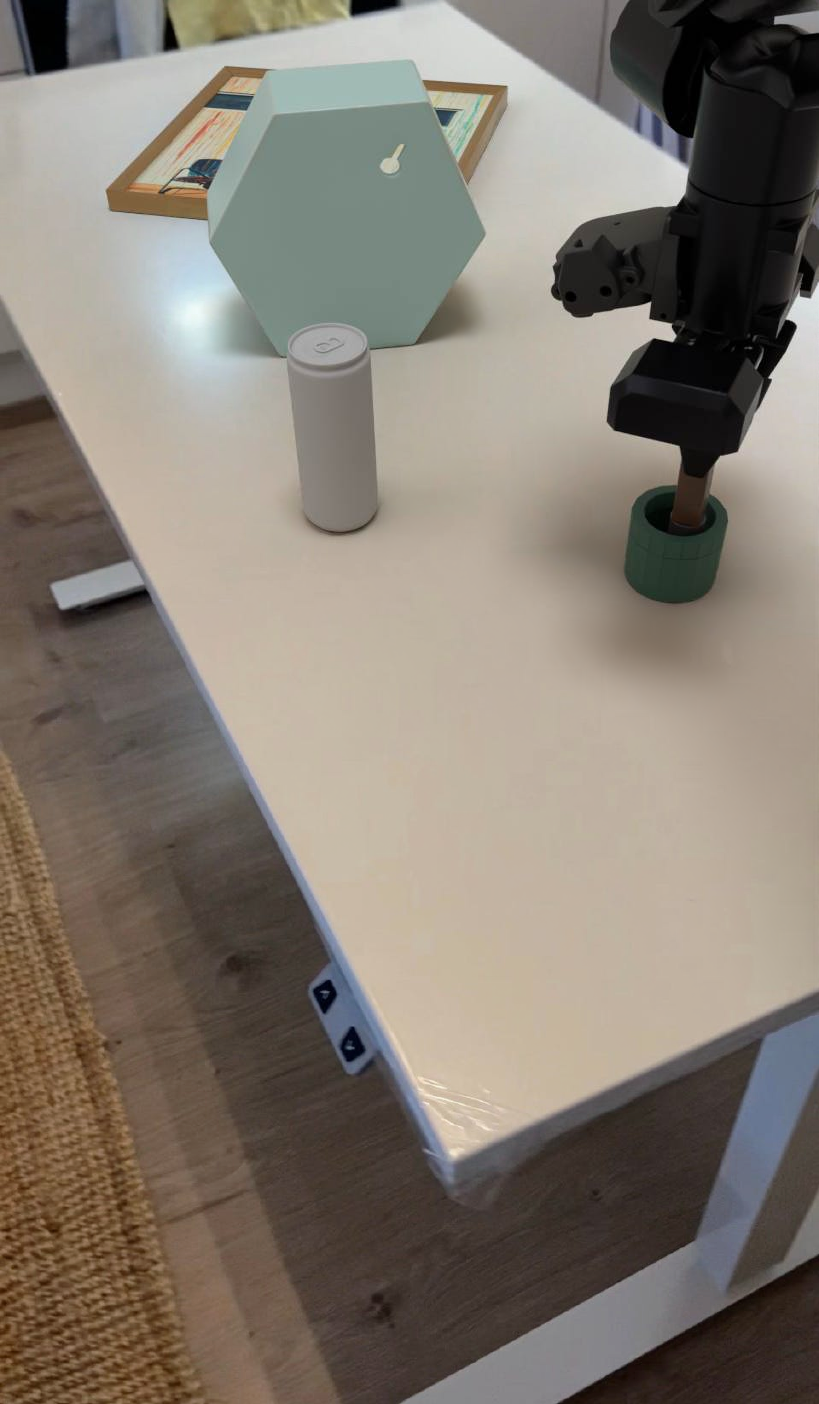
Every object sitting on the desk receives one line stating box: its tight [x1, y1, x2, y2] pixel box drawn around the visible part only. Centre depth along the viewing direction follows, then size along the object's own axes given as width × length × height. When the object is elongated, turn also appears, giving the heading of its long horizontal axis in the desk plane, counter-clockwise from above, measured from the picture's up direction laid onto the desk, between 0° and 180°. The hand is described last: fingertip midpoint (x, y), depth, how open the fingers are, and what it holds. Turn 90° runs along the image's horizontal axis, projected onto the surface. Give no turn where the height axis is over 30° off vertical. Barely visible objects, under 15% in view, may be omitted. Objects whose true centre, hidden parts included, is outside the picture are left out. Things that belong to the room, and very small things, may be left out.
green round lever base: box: [623, 484, 729, 604], centre depth 70 cm, size 5×6×4 cm
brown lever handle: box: [667, 459, 716, 537], centre depth 65 cm, size 2×2×13 cm
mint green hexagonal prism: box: [206, 59, 487, 358], centre depth 86 cm, size 17×8×21 cm
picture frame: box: [105, 65, 509, 221], centre depth 113 cm, size 30×2×30 cm
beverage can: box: [286, 323, 379, 533], centre depth 72 cm, size 5×5×12 cm
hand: (699, 465), depth 65 cm, fingers closed on brown lever handle, 2 cm apart
